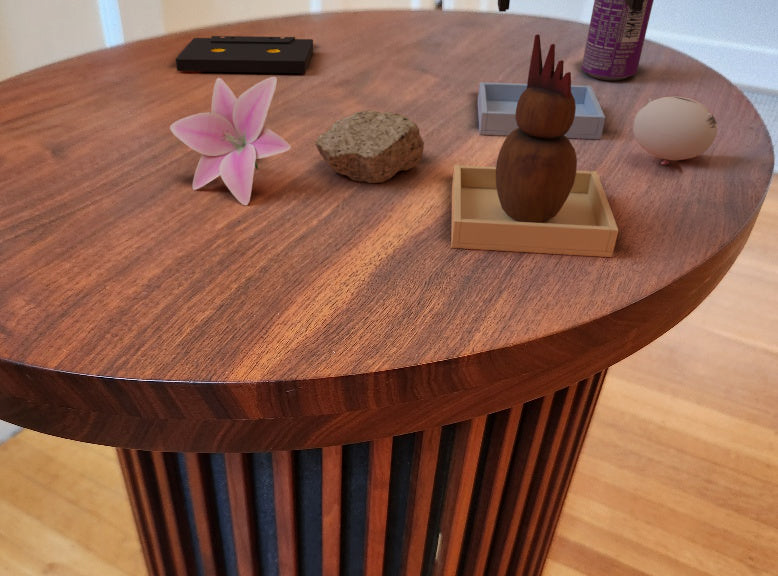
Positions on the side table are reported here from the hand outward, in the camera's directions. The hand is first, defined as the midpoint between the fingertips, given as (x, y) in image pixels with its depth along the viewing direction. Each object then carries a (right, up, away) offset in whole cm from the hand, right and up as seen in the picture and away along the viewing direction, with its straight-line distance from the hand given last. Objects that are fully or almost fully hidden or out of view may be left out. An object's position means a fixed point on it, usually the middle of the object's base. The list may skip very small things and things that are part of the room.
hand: (567, 7), depth 59 cm
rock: (-14, -7, +21) cm, 26 cm away
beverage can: (+21, +12, +45) cm, 51 cm away
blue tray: (+7, +2, +31) cm, 32 cm away
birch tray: (0, -14, +11) cm, 18 cm away
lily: (-27, -9, +18) cm, 34 cm away
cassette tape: (-29, +16, +52) cm, 62 cm away
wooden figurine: (0, -14, +10) cm, 18 cm away
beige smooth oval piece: (+17, -7, +21) cm, 28 cm away
